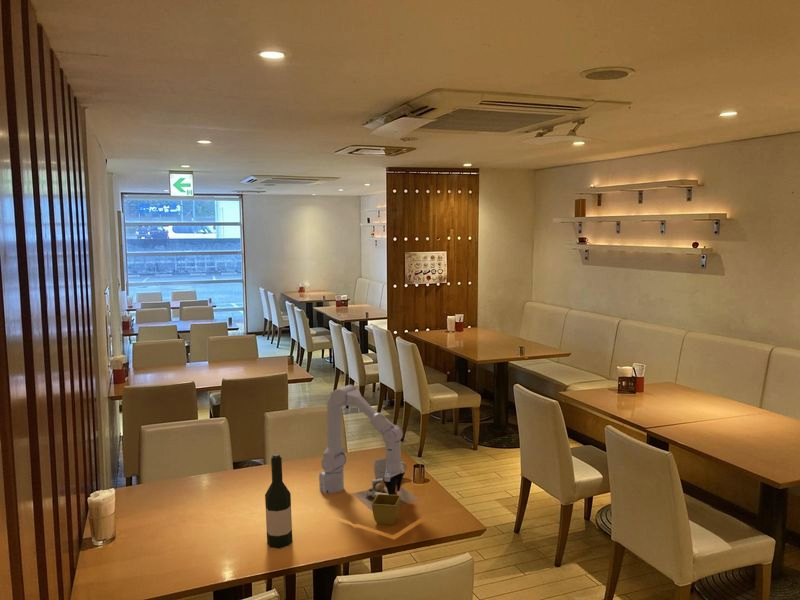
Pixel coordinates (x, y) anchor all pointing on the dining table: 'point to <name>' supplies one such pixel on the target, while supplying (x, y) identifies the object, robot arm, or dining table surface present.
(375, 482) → the anvil
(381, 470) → the teacup
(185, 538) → the dining table surface
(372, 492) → the lever
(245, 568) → the dining table surface
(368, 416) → the robot arm
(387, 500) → the flower pot
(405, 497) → the bench board
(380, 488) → the walnut ball
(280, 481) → the wine bottle
